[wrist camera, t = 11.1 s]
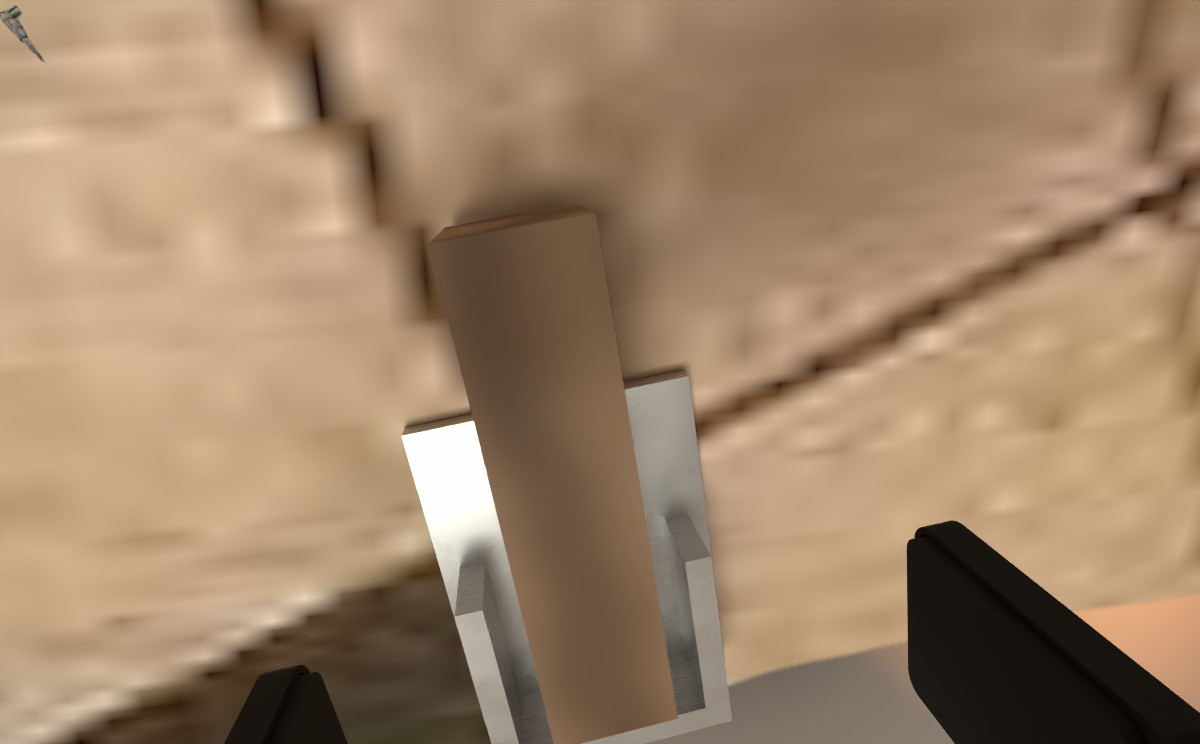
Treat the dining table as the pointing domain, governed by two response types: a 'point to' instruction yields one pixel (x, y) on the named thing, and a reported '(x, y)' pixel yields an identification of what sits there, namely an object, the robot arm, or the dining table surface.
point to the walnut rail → (560, 462)
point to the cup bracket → (487, 588)
